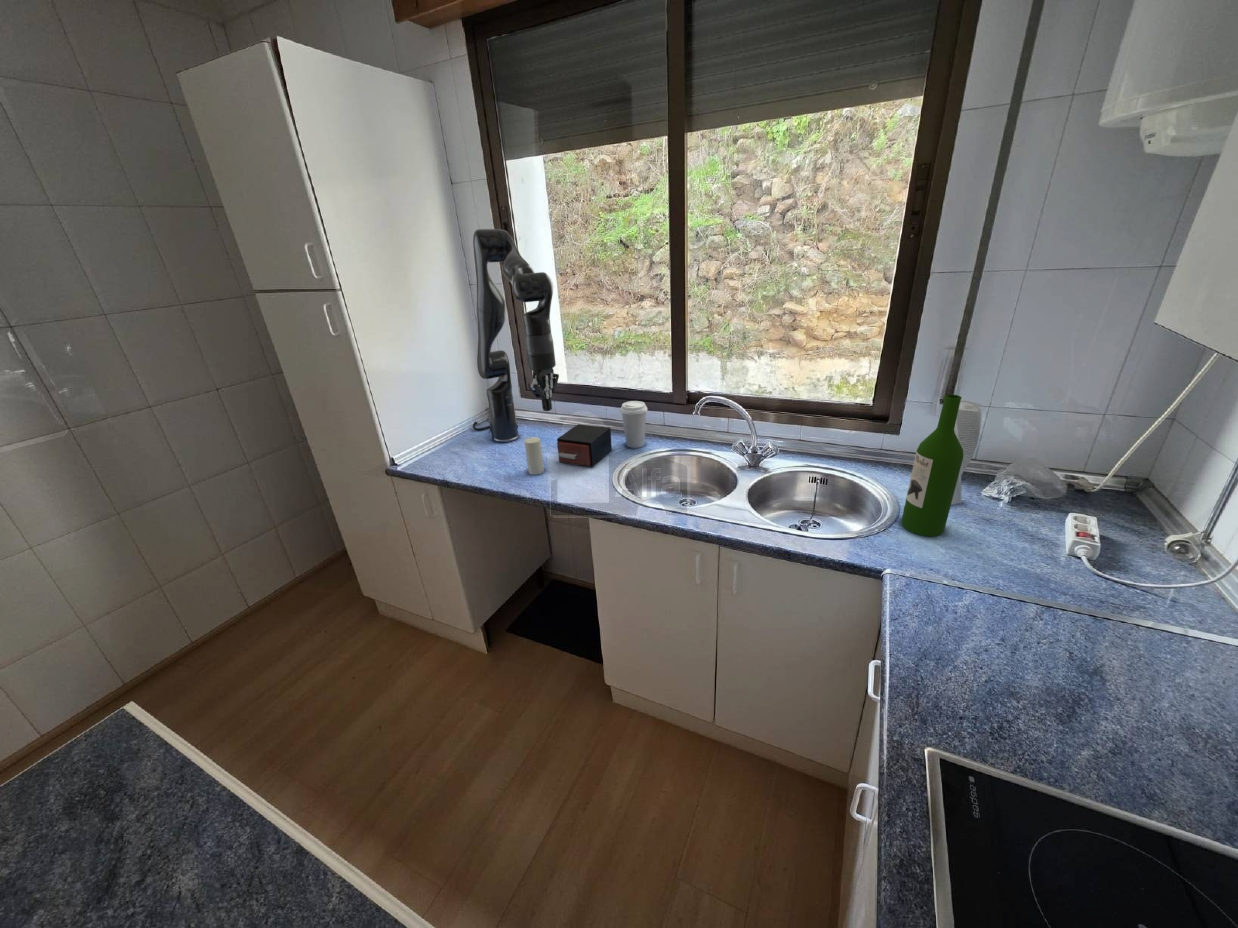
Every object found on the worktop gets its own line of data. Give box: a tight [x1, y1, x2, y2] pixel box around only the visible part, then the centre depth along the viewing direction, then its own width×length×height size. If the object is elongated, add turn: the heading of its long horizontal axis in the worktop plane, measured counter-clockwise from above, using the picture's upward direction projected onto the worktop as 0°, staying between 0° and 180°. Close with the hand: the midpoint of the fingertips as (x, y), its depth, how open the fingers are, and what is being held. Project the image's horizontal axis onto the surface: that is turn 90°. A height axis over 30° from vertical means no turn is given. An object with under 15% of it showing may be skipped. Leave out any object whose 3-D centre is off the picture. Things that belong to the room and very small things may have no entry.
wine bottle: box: [900, 394, 963, 538], centre depth 110 cm, size 9×9×32 cm
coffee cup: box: [619, 400, 648, 449], centre depth 172 cm, size 10×10×15 cm
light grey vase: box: [951, 398, 982, 506], centre depth 122 cm, size 8×8×28 cm
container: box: [523, 436, 545, 476], centre depth 156 cm, size 5×5×11 cm
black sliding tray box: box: [556, 423, 613, 468], centre depth 165 cm, size 15×13×9 cm
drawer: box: [556, 442, 591, 467], centre depth 162 cm, size 18×11×7 cm, turn 155°
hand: (547, 410), depth 141 cm, fingers closed
